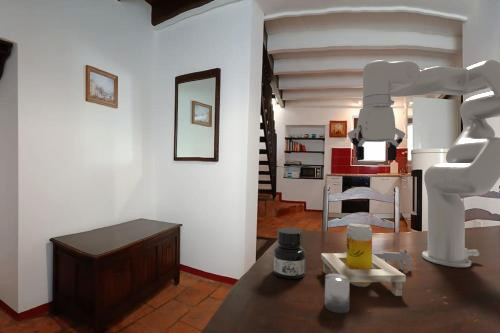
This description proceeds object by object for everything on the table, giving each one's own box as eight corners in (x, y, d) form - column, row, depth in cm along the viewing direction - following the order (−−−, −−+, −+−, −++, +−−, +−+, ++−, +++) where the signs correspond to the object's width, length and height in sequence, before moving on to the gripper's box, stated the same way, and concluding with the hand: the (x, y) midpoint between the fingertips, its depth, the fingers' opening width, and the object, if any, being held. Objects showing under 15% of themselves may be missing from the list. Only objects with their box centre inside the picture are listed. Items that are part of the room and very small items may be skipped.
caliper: (411, 272, 73) (411, 250, 73) (410, 273, 72) (410, 251, 72) (343, 254, 87) (344, 236, 87) (342, 254, 87) (342, 236, 87)
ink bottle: (269, 277, 67) (269, 233, 67) (275, 265, 76) (275, 226, 76) (306, 282, 65) (306, 236, 65) (307, 269, 73) (307, 228, 73)
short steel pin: (343, 300, 56) (343, 273, 56) (353, 312, 51) (353, 283, 51) (321, 300, 56) (321, 273, 56) (329, 313, 51) (329, 283, 51)
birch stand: (371, 270, 73) (371, 253, 73) (405, 296, 58) (405, 275, 58) (320, 270, 72) (321, 253, 72) (341, 297, 57) (341, 275, 57)
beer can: (342, 277, 68) (342, 222, 68) (363, 276, 68) (364, 222, 68) (353, 288, 62) (353, 227, 62) (376, 287, 62) (377, 227, 62)
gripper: (396, 107, 80) (396, 160, 80) (343, 106, 79) (342, 160, 79) (412, 101, 72) (412, 160, 72) (353, 100, 72) (353, 159, 71)
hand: (376, 160), depth 75 cm, fingers open, 9 cm apart
